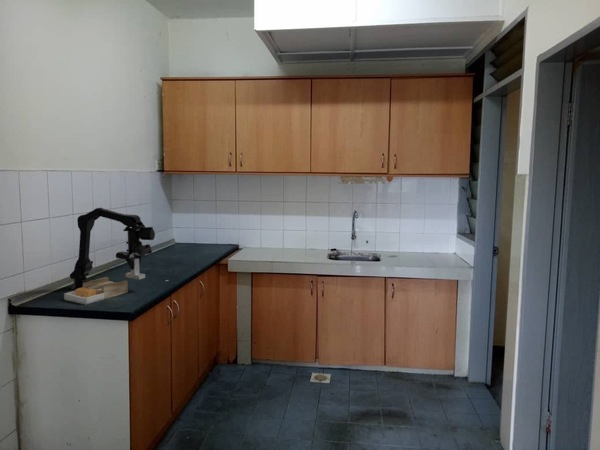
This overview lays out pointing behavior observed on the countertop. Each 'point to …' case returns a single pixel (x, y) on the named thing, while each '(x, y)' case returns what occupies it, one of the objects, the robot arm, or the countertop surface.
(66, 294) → the chip tray
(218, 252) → the countertop surface
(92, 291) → the tan cardboard cube
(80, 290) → the matte ochre cube
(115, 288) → the slot block
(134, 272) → the scraper
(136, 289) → the countertop surface
